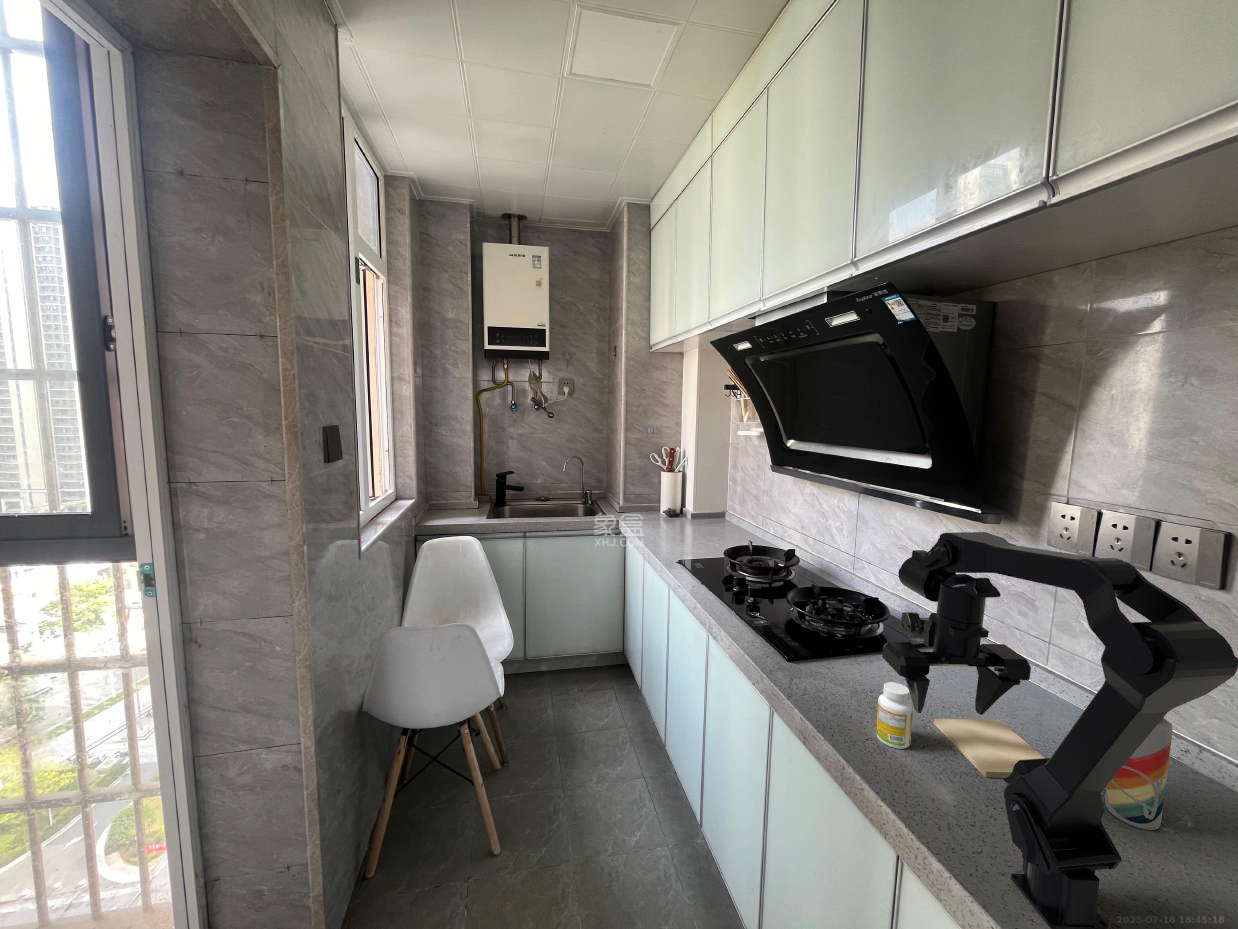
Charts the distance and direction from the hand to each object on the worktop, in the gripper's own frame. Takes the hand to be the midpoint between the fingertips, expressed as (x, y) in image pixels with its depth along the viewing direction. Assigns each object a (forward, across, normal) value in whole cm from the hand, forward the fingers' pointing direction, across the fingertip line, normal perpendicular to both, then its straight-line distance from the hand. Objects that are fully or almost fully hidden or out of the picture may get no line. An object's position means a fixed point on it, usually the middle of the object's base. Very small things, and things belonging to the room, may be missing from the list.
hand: (948, 712), depth 77 cm
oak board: (+13, -15, -9) cm, 22 cm away
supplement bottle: (+13, +1, -11) cm, 17 cm away
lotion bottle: (+12, -24, +5) cm, 28 cm away
